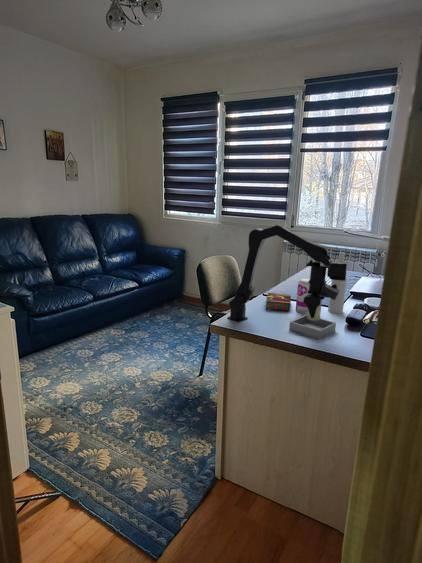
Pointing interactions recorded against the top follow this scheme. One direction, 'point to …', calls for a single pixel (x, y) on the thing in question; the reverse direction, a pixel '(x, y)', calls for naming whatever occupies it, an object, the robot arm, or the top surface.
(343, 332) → the top surface
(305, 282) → the supplement can
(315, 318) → the cream yellow cylinder
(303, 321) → the bin
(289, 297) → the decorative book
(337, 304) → the bottle
